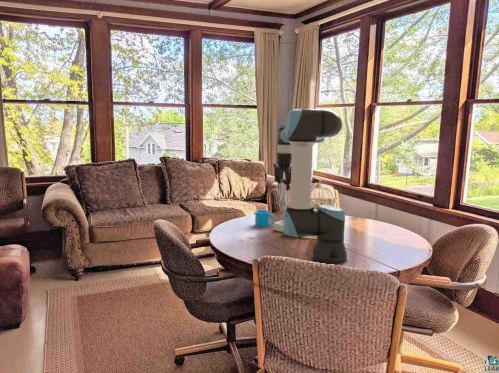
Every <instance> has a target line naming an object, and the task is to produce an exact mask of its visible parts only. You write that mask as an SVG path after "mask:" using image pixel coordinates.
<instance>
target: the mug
mask: <svg viewBox="0 0 499 373" xmlns="http://www.w3.org/2000/svg"><path fill="white" fill-rule="evenodd" d="M254 211H255V213H254V214H255V219H254V220H255V221H254V222H255V224H254V225H255V227H257V226H258V227H257V228H267V227H269V226H272V225H274V223H275V222H276V217H275V215H274V214H272V213H270V211H269V210H267V209H257V210H254ZM270 216H271V217H272V218H273V222H272V223H270Z"/></svg>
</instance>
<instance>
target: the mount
mask: <svg viewBox="0 0 499 373" xmlns="http://www.w3.org/2000/svg"><path fill="white" fill-rule="evenodd" d="M273 230H274V231H277V232H281V233H283V230H284V222H283V220H279V221H275V223H274V224H273Z"/></svg>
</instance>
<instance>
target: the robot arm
mask: <svg viewBox="0 0 499 373" xmlns="http://www.w3.org/2000/svg"><path fill="white" fill-rule="evenodd" d="M342 128H343V122H342V119H341V117H340V115H339V114H338V113H336V111H333V110H331V109H326V108H293V109H291V110H289V112H288V113H287V115H286V120H285V123H278V125H277V157H276V158H277V162H276V163H273V164H272V165H273V169H274V171H273V172H274V182H276V183H277V189H278V196H280V195H281V181H280V179H282V178H283V176H284V177H285V180H286V184H285V192H284V196H287V197H289V196H290V201H289V202H288V203H287V206H286V208H284V209H283V210H282V221H283V222H284V227H285V231H286V233H287V235H286V236H289V237H293V236H300V237H316V242H315V244H314V247H313V250H312V254H311V256H312V260H315V261H316V262H319V263H323V264H327V265H328V264H330V265H331V264H333V265H334V264H335V265H337V264H338V265H339V264H342V263H346V262H347V261H348V253H347V249H346V246H345V243H344V241H345V226H346V225H345V222H346V213H345V211H344V209H342V208H341V207H338V206H333V205H330V204H329V205H328V204H318V206H317V208H315V205H314V204H313V202H311V200H312V199H311V198H312V173H313V171H312V170H313V147H314V146H315V144H317V143H318V144H319V143H323V142H324V141H325V138H333V137H335V136H336V135H338V134H340V132H341V130H342ZM289 192H290V195H289Z"/></svg>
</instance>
